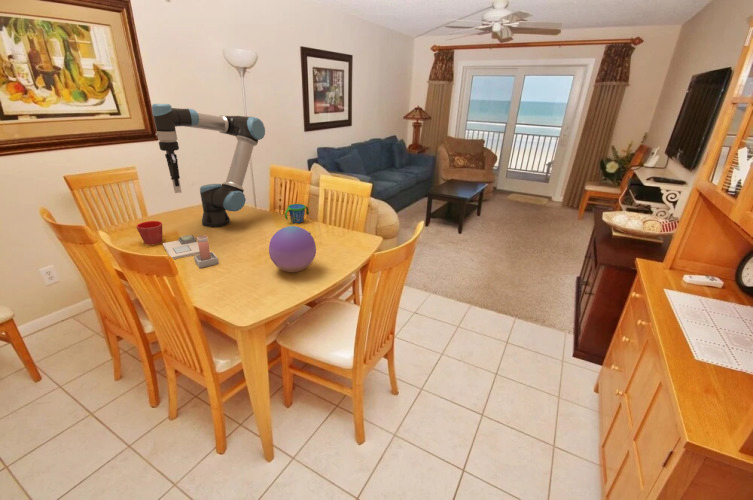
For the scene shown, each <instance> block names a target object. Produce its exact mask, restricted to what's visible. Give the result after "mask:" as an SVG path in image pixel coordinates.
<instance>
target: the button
mask: <svg viewBox="0 0 753 500" xmlns="http://www.w3.org/2000/svg"><path fill="white" fill-rule="evenodd" d="M180 237H181V239H182V241H188V240H193V237H192V236H191V235H190V234H187V235H184V236H180Z"/></svg>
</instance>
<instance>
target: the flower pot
mask: <svg viewBox="0 0 753 500" xmlns="http://www.w3.org/2000/svg"><path fill="white" fill-rule="evenodd" d="M135 228H136V230H137V231H138V233H139V235H140V237H141V239H142V241H143V243H144V244H145V245H147V246H154V245H155V246H156V245H159V244H162V242H163V237H164V235H163V222H162V221H159V220H149V221H144V222H141V223H138V224H136V227H135Z"/></svg>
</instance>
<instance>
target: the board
mask: <svg viewBox="0 0 753 500" xmlns="http://www.w3.org/2000/svg"><path fill="white" fill-rule="evenodd" d="M191 236H192V237H193V240H188V241H182V239H181V237H182V236H180V237H178V239H177V240H174V241H169V242H163V243H162V245H163V248H164V250H165V251H166V253H167V254H168V256H169V257H170V256H171V257H172V258H173V260H177V259H181V258H185V257H191V256H196V255H200V251H199V246H198V241H197V238H195V236H194V235H191Z"/></svg>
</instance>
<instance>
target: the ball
mask: <svg viewBox="0 0 753 500" xmlns="http://www.w3.org/2000/svg"><path fill="white" fill-rule="evenodd" d="M307 231H308V230H306V229H304V228H303V227H300V226H295V225H289V226H286V227H285V226H284V227H282V228H280V229H279V230H278V231H276V232H275V233H274V234H273V235H272V236H271V238H270V241H269V245H268V253H269V257H270V260H271V261H272V263H273V264H274V265H275V266H276V267H277V268H278V269H279V270H282V271H284V272H289V273H297V272H301V271H304V270H305V269H307V268H308V267H310V265H312V263H313V261H314V259H315V257H316V253H317V245H316V242H315V239H314V237H313V236H312V234H310V233H311V232H310V231H309V232H310V233H309V232H307Z"/></svg>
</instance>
